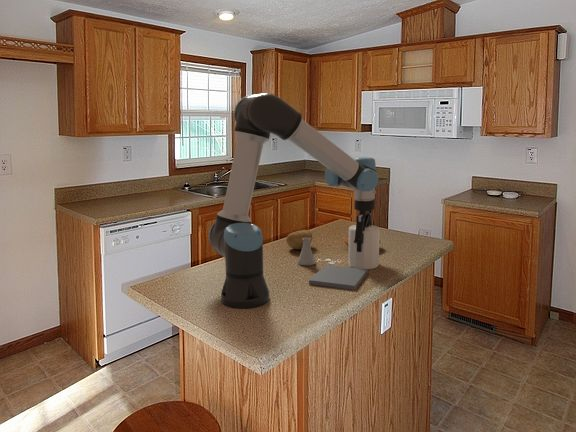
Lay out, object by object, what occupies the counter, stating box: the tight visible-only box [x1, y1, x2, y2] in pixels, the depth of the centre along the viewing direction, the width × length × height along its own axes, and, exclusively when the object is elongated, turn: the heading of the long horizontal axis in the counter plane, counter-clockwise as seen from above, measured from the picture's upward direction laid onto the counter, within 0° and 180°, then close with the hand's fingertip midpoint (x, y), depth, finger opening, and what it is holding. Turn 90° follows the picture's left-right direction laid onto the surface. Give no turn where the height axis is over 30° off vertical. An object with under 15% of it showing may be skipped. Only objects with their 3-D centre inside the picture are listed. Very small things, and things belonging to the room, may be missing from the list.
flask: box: [297, 238, 317, 267], centre depth 187 cm, size 7×7×10 cm
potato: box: [286, 229, 313, 250], centre depth 208 cm, size 10×14×8 cm
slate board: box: [308, 264, 369, 291], centre depth 170 cm, size 18×16×2 cm
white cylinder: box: [347, 224, 381, 270], centre depth 184 cm, size 11×11×14 cm
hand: (363, 255), depth 185 cm, fingers closed on white cylinder, 11 cm apart
